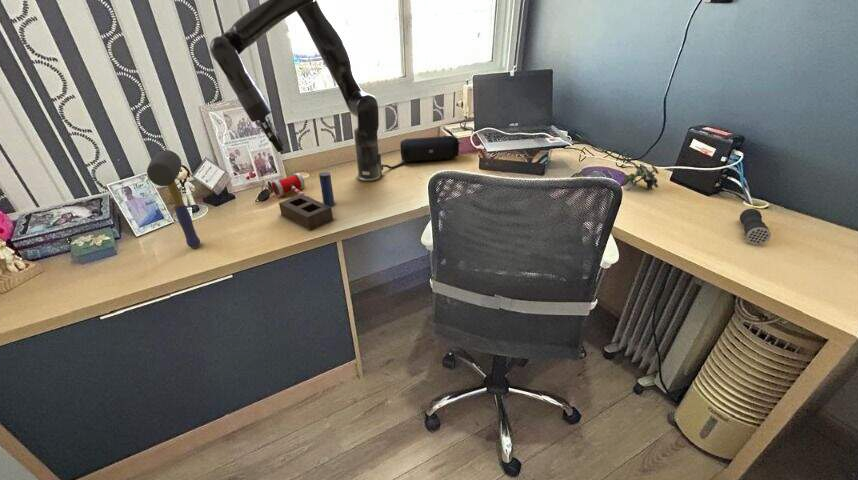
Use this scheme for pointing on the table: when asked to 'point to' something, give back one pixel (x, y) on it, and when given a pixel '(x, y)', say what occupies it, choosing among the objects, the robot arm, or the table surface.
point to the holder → (306, 211)
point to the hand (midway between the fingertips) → (281, 148)
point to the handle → (326, 188)
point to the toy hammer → (288, 185)
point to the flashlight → (754, 227)
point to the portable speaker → (429, 148)
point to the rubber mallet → (173, 190)
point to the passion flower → (645, 175)
